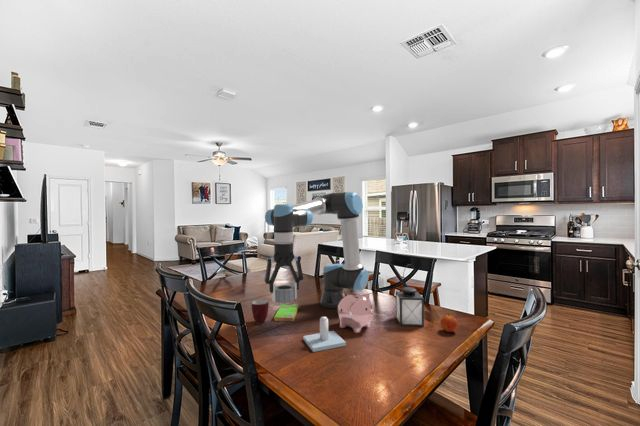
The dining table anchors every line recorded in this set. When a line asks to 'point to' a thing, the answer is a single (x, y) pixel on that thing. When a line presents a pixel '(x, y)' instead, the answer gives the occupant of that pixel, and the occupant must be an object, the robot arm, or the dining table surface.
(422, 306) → the lantern
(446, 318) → the fruit
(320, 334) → the block
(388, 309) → the dining table surface
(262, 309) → the mug
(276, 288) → the ring
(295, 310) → the game box
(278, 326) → the dining table surface
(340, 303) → the piggy bank
